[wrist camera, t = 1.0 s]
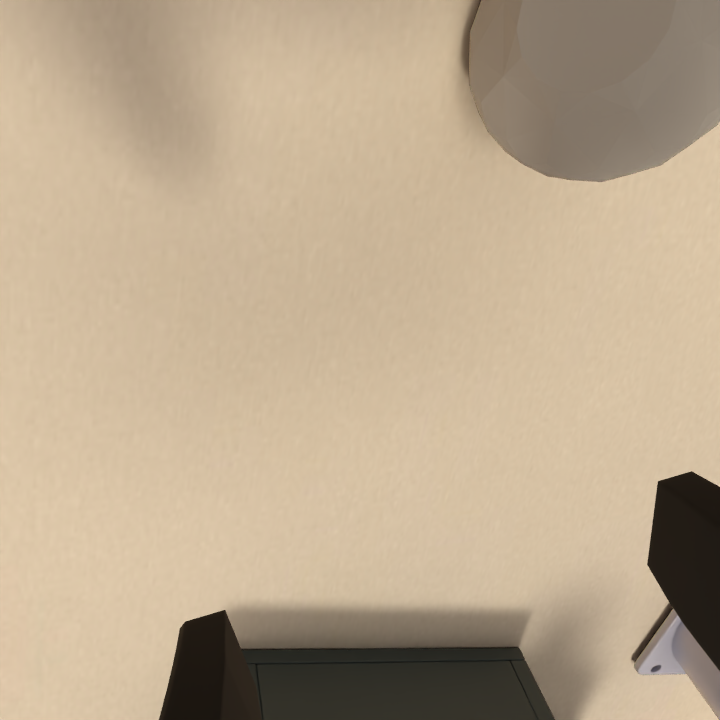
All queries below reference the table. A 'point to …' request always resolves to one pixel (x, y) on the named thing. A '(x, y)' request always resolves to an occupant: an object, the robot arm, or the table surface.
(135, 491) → the table surface
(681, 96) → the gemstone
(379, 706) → the bin
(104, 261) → the table surface
